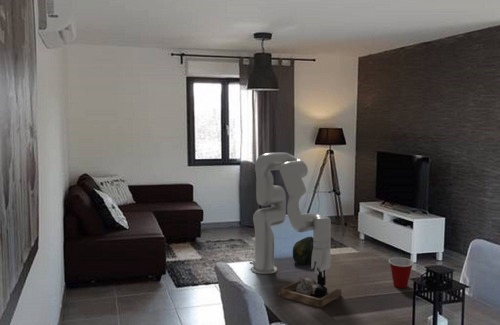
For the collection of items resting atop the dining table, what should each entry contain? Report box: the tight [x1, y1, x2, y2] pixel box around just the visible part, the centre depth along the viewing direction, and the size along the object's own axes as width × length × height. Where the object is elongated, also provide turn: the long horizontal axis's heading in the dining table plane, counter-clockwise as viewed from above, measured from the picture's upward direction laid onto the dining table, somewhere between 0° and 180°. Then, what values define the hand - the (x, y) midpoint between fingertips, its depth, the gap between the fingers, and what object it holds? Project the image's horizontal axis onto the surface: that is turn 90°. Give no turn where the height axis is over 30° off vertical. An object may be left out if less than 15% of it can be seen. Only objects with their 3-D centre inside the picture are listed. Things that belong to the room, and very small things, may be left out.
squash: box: [292, 236, 313, 265], centre depth 246 cm, size 14×15×15 cm
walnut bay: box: [278, 279, 342, 308], centre depth 198 cm, size 20×17×3 cm
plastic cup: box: [388, 256, 415, 289], centre depth 209 cm, size 11×11×12 cm
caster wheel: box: [295, 276, 328, 297], centre depth 200 cm, size 7×11×10 cm
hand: (321, 284), depth 205 cm, fingers closed
